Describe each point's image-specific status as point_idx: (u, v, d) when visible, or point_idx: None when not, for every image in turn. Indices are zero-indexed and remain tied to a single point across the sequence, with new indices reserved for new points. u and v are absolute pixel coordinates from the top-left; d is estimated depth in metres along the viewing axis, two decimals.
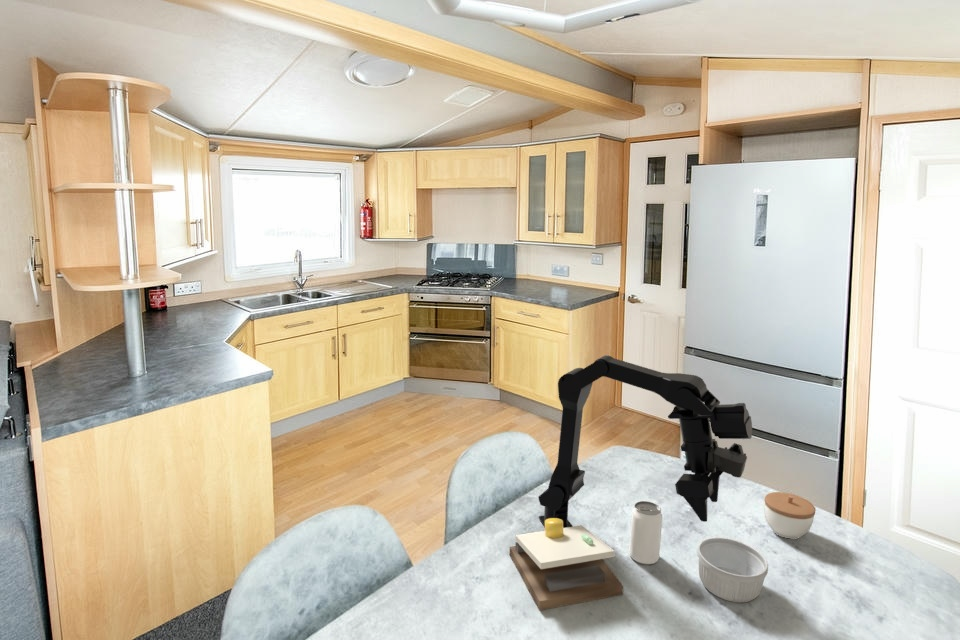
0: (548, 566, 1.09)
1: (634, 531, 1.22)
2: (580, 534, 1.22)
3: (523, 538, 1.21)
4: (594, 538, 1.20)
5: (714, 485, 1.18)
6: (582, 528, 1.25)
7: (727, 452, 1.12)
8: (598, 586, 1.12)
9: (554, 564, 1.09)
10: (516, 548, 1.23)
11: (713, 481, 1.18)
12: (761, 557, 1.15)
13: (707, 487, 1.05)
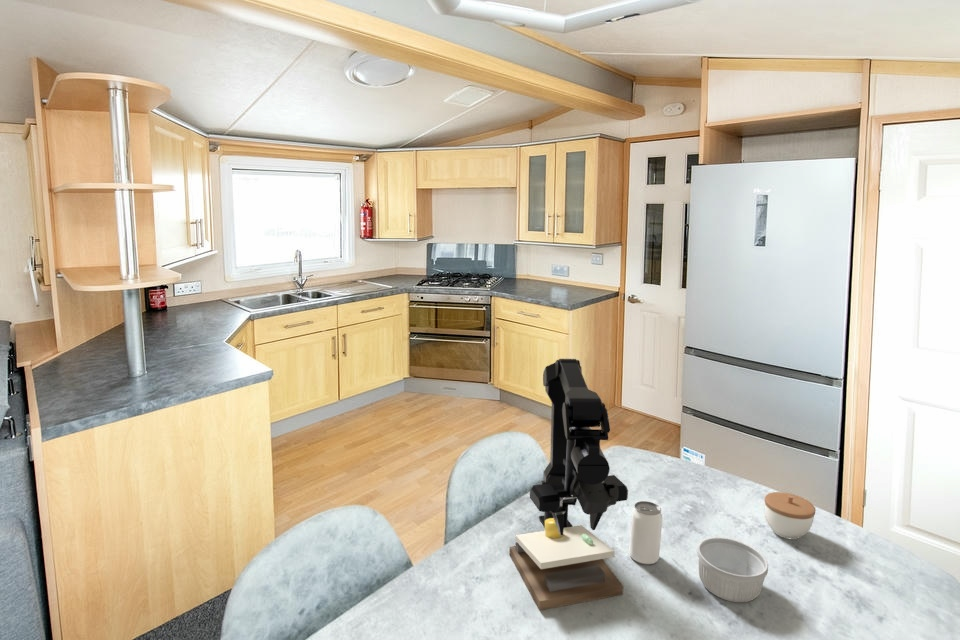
0: (548, 566, 1.09)
1: (634, 531, 1.22)
2: (580, 534, 1.22)
3: (523, 538, 1.21)
4: (594, 538, 1.20)
5: (596, 514, 1.11)
6: (582, 528, 1.25)
7: (595, 486, 1.04)
8: (598, 586, 1.12)
9: (554, 564, 1.09)
10: (516, 548, 1.23)
11: None
12: (761, 557, 1.15)
13: (543, 504, 1.04)
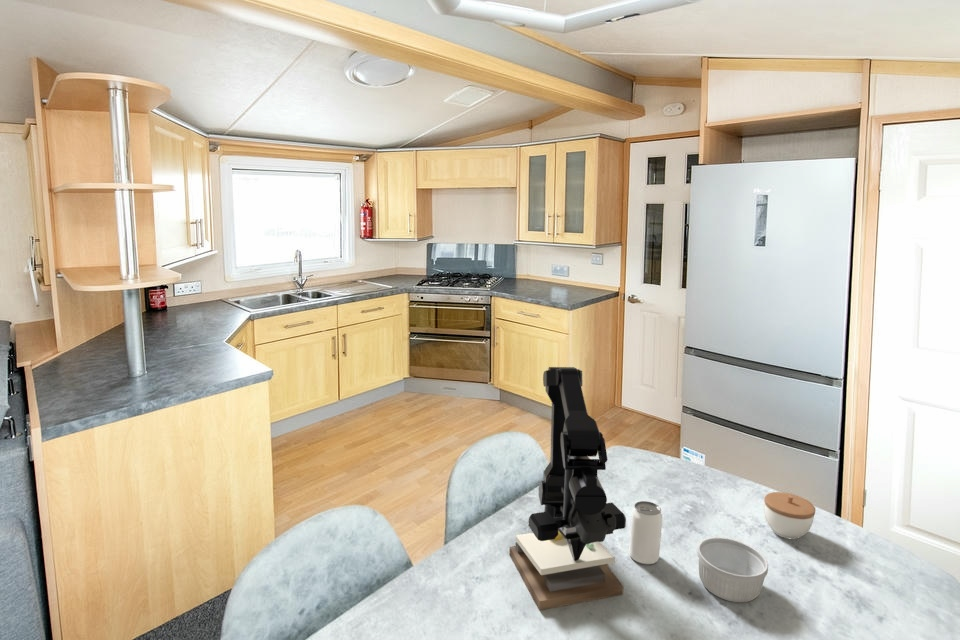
0: (548, 572, 1.09)
1: (634, 531, 1.22)
2: None
3: (523, 539, 1.21)
4: None
5: (579, 544, 1.11)
6: None
7: (593, 516, 1.05)
8: (598, 586, 1.12)
9: (554, 570, 1.09)
10: (516, 548, 1.23)
11: (579, 540, 1.11)
12: (761, 557, 1.15)
13: (541, 533, 1.05)
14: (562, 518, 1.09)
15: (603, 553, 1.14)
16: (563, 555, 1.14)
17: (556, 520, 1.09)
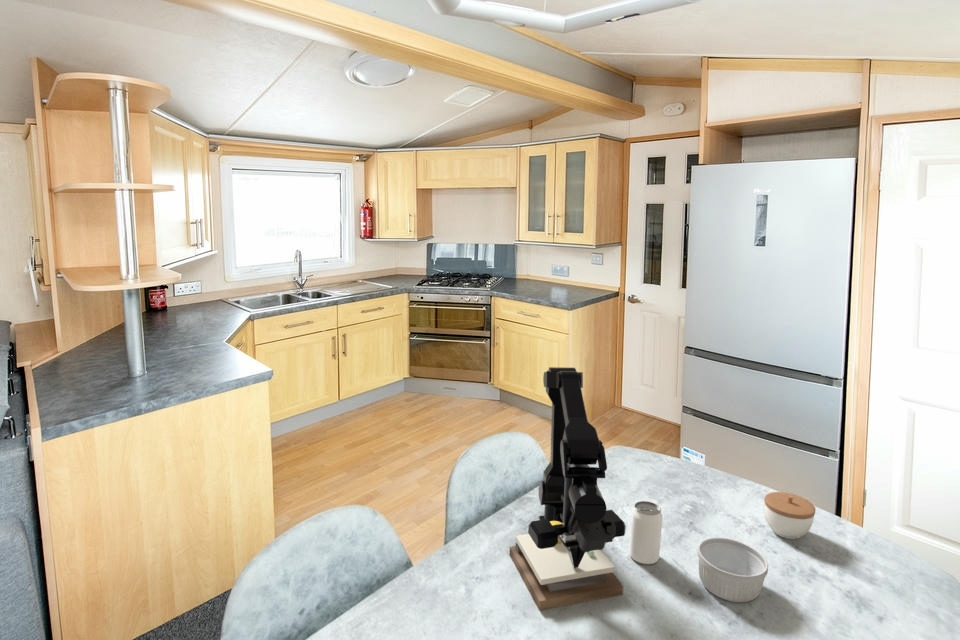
0: (548, 582, 1.09)
1: (634, 531, 1.22)
2: None
3: (523, 541, 1.21)
4: None
5: (579, 552, 1.11)
6: None
7: (593, 524, 1.05)
8: (598, 586, 1.12)
9: (554, 580, 1.10)
10: (516, 548, 1.23)
11: (578, 547, 1.11)
12: (761, 557, 1.15)
13: (541, 541, 1.06)
14: (562, 526, 1.10)
15: (603, 562, 1.14)
16: (563, 563, 1.14)
17: (556, 528, 1.09)
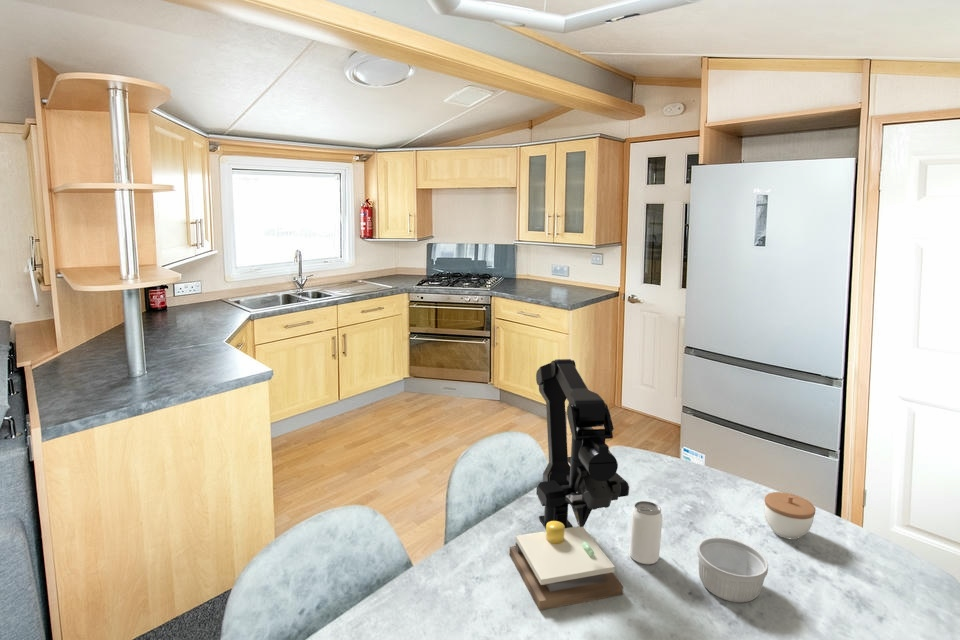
0: (548, 582, 1.09)
1: (634, 531, 1.22)
2: (580, 539, 1.22)
3: (523, 541, 1.21)
4: (594, 546, 1.19)
5: (584, 511, 1.16)
6: (583, 530, 1.25)
7: (599, 483, 1.10)
8: (598, 586, 1.12)
9: (554, 580, 1.10)
10: (516, 548, 1.23)
11: (584, 507, 1.16)
12: (761, 557, 1.15)
13: (549, 500, 1.10)
14: (569, 486, 1.14)
15: (603, 562, 1.14)
16: (563, 563, 1.14)
17: (563, 488, 1.14)
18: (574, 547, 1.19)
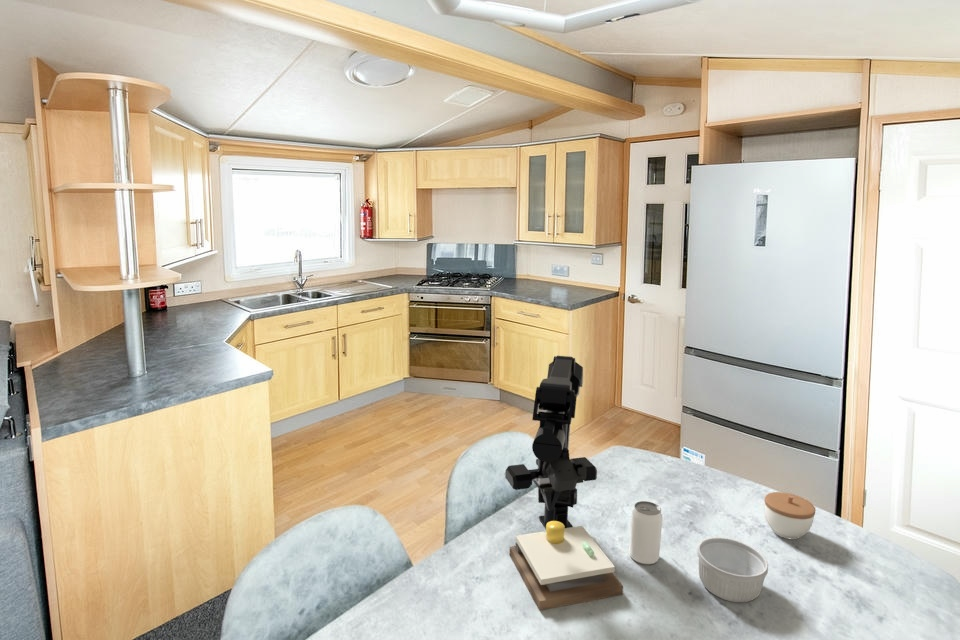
0: (548, 582, 1.09)
1: (634, 531, 1.22)
2: (580, 539, 1.22)
3: (523, 541, 1.21)
4: (594, 546, 1.19)
5: (553, 495, 1.18)
6: (583, 530, 1.25)
7: (565, 466, 1.12)
8: (598, 586, 1.12)
9: (554, 580, 1.10)
10: (516, 548, 1.23)
11: (553, 491, 1.18)
12: (761, 557, 1.15)
13: (516, 482, 1.12)
14: (537, 470, 1.16)
15: (603, 562, 1.14)
16: (563, 563, 1.14)
17: (531, 471, 1.16)
18: (574, 547, 1.19)
